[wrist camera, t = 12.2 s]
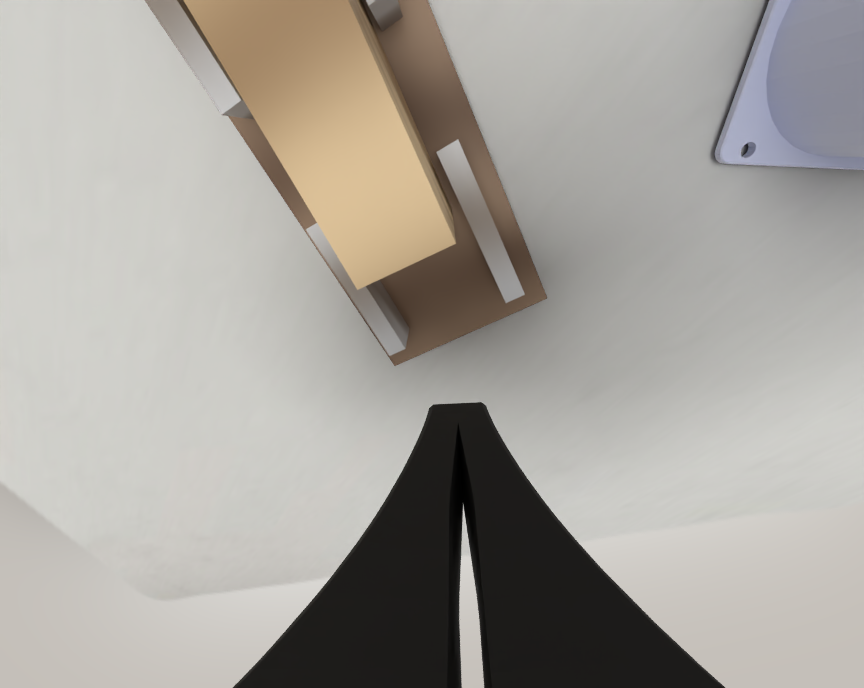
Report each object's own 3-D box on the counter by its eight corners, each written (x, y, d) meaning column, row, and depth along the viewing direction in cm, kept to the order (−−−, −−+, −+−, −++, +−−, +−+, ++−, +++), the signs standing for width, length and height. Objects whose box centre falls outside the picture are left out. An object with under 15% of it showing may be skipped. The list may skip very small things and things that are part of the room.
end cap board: (541, 290, 17) (563, 321, 14) (397, 356, 19) (387, 395, 16) (327, -240, 10) (276, -408, 7) (132, -50, 12) (25, -117, 9)
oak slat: (452, 209, 15) (456, 243, 9) (387, 241, 15) (357, 289, 10) (290, -167, 10) (124, -505, 5) (208, -97, 11) (-14, -328, 6)
